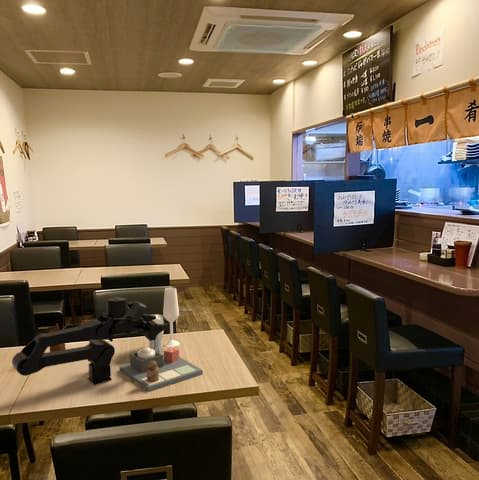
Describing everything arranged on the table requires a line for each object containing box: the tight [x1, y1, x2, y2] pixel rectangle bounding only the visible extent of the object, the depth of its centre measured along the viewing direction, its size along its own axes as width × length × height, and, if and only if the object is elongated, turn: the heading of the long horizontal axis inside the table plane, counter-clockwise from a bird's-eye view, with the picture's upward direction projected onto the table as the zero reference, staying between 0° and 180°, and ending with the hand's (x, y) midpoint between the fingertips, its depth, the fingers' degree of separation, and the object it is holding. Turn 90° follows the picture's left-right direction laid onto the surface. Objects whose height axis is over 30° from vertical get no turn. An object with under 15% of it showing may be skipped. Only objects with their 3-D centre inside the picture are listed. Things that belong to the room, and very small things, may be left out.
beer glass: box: [147, 313, 165, 355], centre depth 192 cm, size 7×7×15 cm
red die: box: [163, 347, 180, 363], centre depth 181 cm, size 4×4×4 cm
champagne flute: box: [162, 287, 180, 348], centre depth 200 cm, size 7×7×24 cm
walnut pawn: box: [147, 361, 159, 382], centre depth 164 cm, size 4×4×7 cm
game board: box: [119, 348, 204, 392], centre depth 174 cm, size 22×22×6 cm
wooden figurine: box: [49, 322, 66, 352], centre depth 185 cm, size 7×6×15 cm
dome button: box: [136, 346, 155, 360], centre depth 175 cm, size 6×6×4 cm
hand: (161, 321), depth 181 cm, fingers open, 9 cm apart
